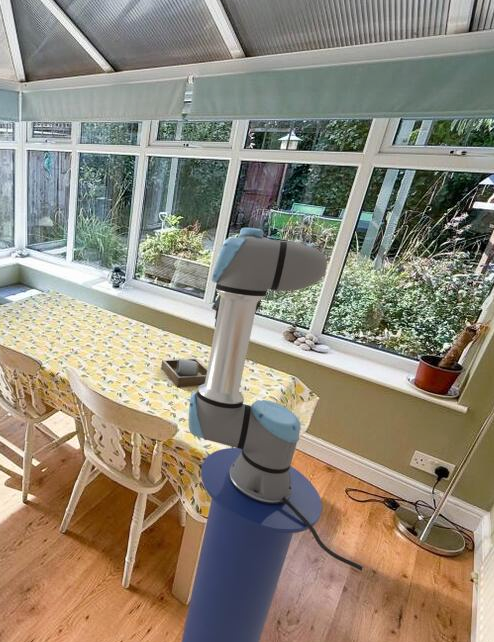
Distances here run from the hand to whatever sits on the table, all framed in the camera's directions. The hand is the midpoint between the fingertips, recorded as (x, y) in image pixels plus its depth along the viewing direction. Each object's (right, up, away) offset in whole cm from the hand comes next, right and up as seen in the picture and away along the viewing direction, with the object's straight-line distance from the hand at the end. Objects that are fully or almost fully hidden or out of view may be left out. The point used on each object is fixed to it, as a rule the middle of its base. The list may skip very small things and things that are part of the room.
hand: (232, 326), depth 155 cm
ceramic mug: (-12, -21, +21) cm, 32 cm away
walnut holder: (-11, -22, +20) cm, 32 cm away
